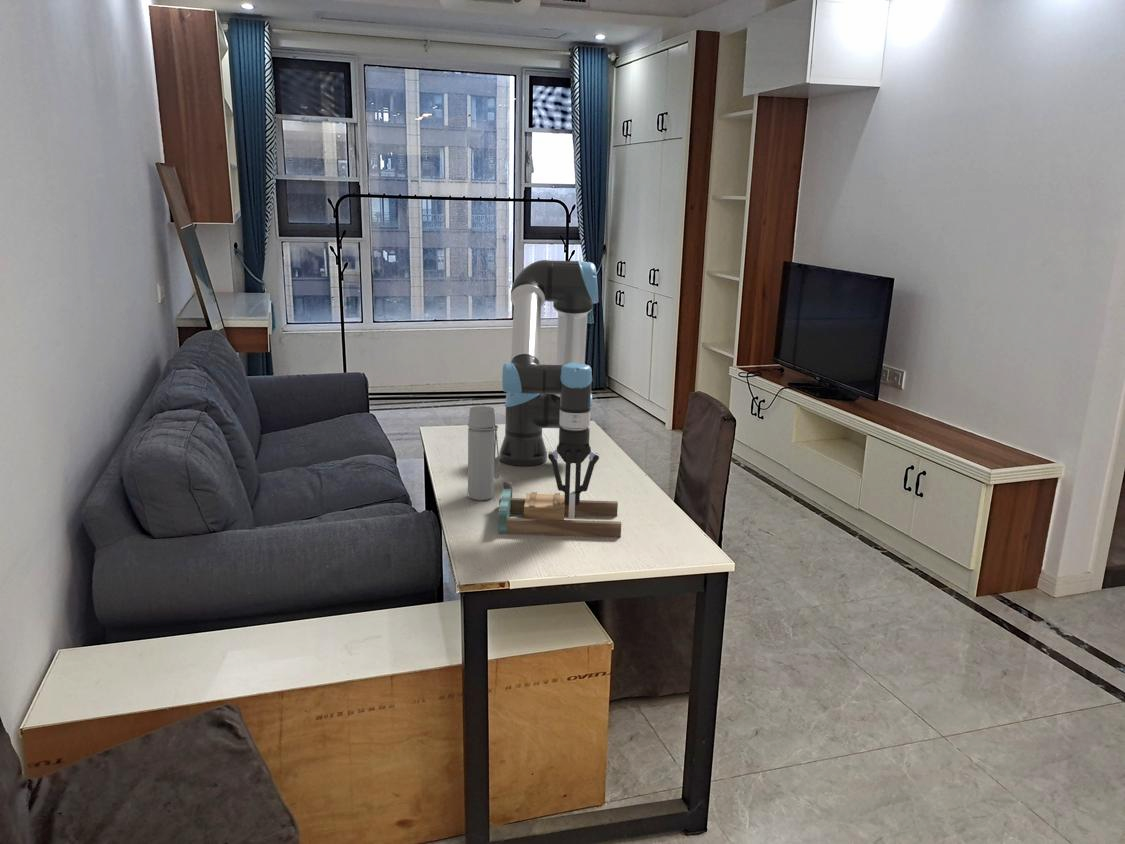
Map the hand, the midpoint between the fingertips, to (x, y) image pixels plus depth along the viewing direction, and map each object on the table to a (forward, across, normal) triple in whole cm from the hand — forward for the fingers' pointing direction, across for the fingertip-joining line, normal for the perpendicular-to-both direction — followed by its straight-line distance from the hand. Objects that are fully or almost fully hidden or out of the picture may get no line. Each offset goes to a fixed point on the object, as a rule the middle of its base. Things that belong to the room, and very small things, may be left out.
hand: (571, 516), depth 211 cm
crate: (+2, -7, +1) cm, 7 cm away
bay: (+2, -3, +2) cm, 4 cm away
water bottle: (+2, -24, +18) cm, 30 cm away
